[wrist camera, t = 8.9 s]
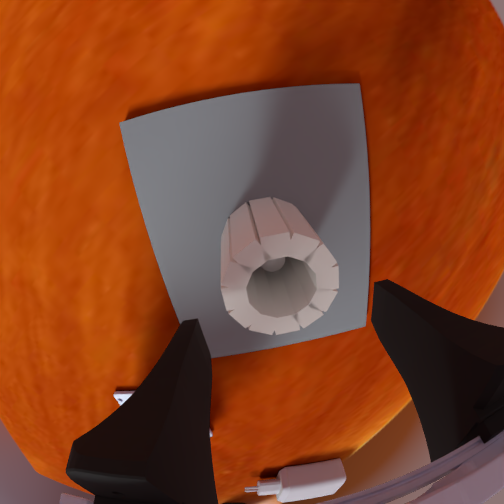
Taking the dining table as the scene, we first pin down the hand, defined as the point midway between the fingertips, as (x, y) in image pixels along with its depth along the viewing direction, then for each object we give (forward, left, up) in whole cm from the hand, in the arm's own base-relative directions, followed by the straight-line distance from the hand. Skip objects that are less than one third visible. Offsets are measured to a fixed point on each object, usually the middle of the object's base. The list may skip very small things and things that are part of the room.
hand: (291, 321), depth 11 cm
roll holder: (0, 0, -8) cm, 8 cm away
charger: (-42, +1, -9) cm, 43 cm away
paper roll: (0, 0, -8) cm, 8 cm away
